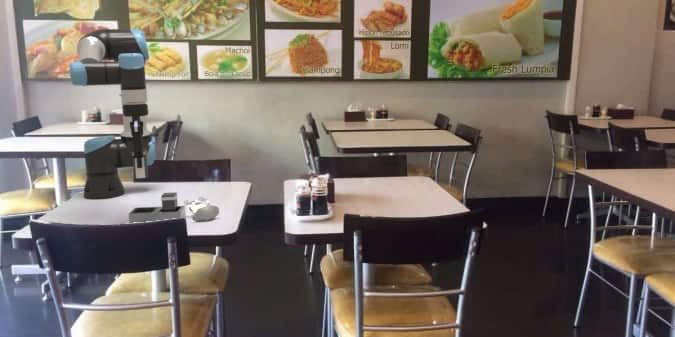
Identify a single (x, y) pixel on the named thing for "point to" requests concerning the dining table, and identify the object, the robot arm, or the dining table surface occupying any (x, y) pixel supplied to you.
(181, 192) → the dining table surface
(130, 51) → the robot arm
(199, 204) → the figurine
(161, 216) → the grey holder
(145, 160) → the plug
